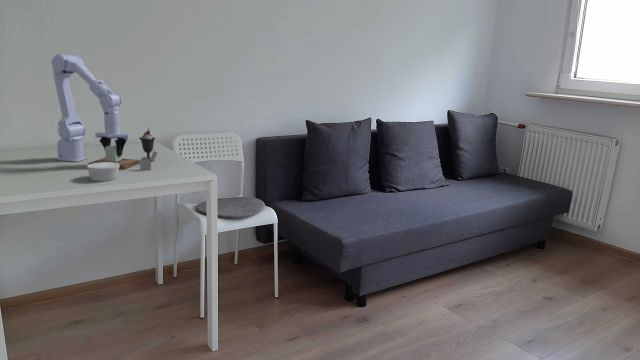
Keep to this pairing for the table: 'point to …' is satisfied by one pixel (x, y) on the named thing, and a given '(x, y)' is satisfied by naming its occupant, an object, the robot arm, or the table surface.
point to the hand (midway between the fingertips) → (114, 155)
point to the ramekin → (103, 171)
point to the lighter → (147, 161)
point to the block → (112, 153)
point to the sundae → (147, 143)
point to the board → (120, 162)
